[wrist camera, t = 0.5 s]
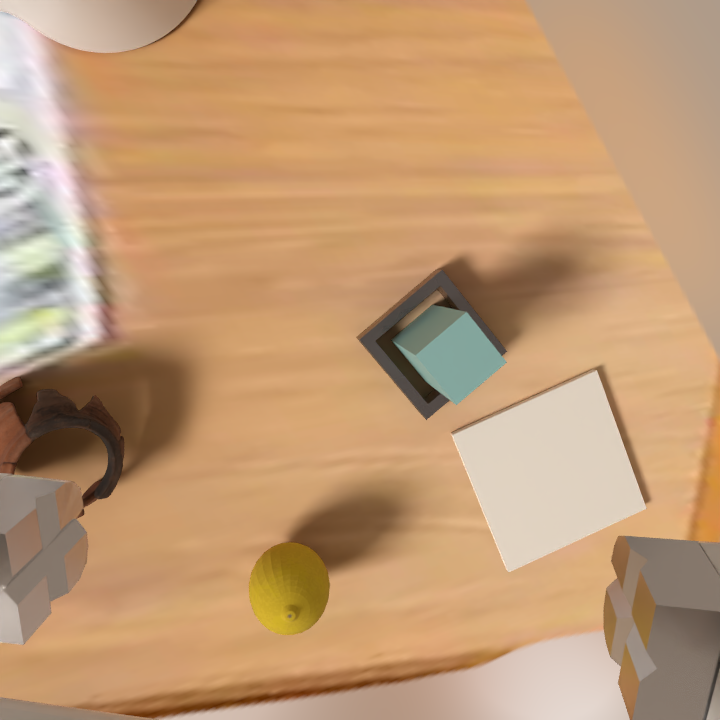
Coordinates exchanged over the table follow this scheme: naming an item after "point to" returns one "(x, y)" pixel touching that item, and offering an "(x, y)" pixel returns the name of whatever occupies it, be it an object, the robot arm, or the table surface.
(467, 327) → the teal block
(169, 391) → the table surface
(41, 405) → the pottery mug
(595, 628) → the table surface
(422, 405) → the metal cradle
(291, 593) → the lemon
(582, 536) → the white mat
